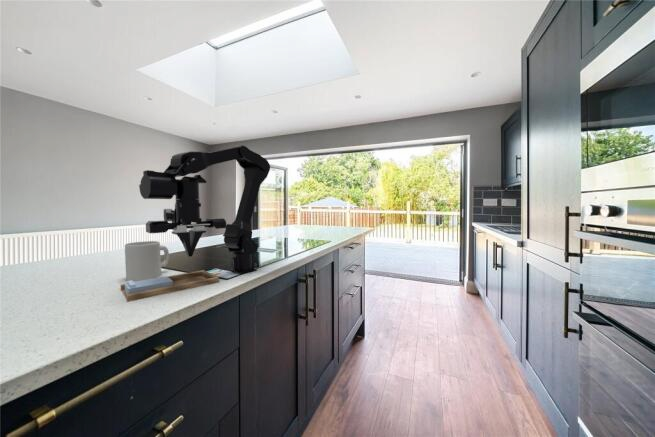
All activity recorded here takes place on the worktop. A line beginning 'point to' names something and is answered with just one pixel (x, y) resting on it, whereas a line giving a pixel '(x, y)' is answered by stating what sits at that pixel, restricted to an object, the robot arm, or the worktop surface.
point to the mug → (144, 260)
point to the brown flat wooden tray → (175, 284)
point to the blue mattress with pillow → (147, 284)
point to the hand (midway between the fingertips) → (190, 256)
